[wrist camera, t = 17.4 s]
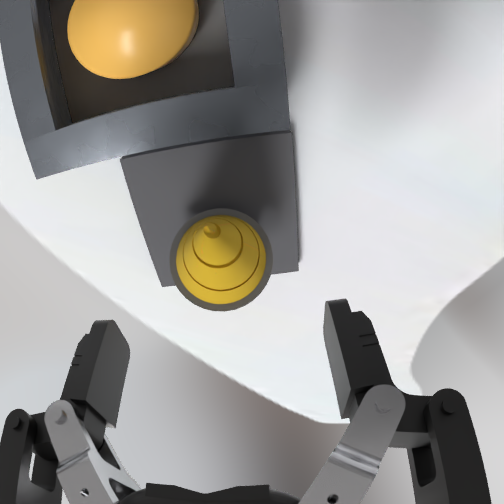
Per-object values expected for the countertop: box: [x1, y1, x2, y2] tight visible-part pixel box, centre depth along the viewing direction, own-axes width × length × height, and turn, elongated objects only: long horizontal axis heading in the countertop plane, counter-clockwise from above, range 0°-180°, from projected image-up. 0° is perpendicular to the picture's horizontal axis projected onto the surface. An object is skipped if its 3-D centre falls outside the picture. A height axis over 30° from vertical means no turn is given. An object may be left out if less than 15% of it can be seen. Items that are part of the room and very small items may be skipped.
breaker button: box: [67, 0, 199, 79], centre depth 11 cm, size 6×6×2 cm
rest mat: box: [120, 130, 299, 287], centre depth 18 cm, size 9×9×1 cm
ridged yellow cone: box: [169, 208, 273, 311], centre depth 15 cm, size 5×5×10 cm
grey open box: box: [0, 0, 290, 179], centre depth 10 cm, size 12×12×4 cm
